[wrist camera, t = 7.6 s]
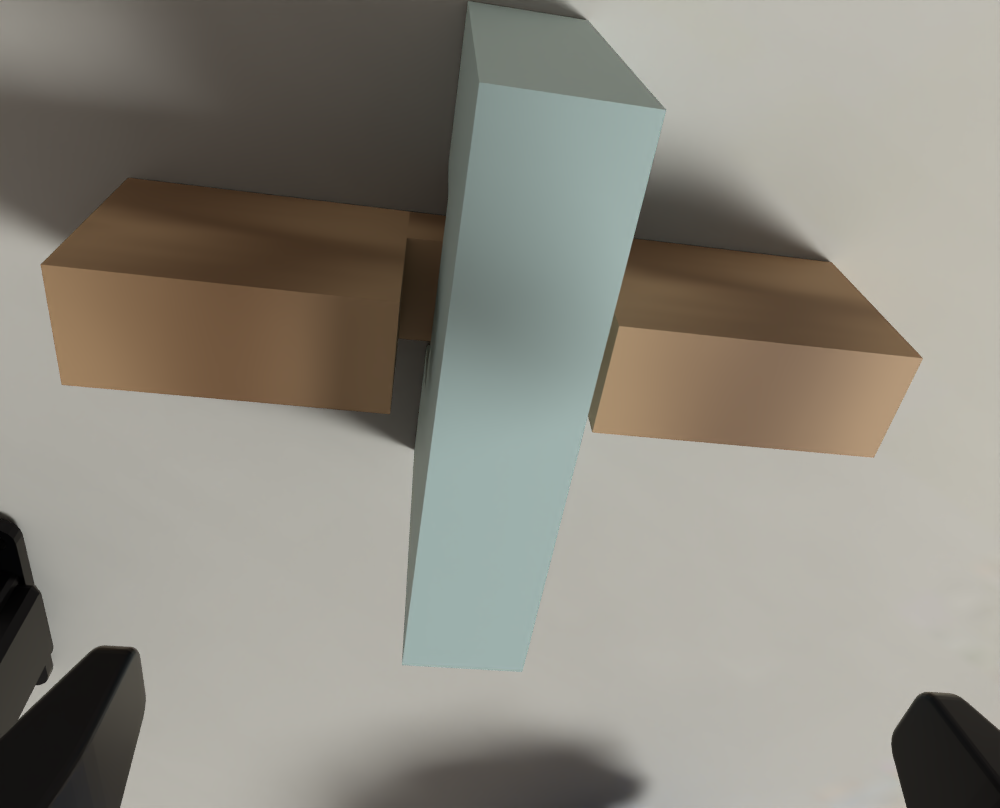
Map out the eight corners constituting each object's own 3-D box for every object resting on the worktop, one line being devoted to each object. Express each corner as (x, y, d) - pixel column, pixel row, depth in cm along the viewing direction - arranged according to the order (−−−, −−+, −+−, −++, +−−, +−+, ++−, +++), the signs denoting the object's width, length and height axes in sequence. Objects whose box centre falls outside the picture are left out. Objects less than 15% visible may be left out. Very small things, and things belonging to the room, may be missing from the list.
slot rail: (139, 279, 19) (61, 384, 15) (128, 178, 17) (40, 264, 14) (797, 349, 21) (874, 457, 17) (831, 262, 19) (923, 358, 16)
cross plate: (414, 450, 22) (402, 665, 16) (468, 0, 16) (478, 82, 10) (502, 458, 22) (522, 671, 16) (588, 20, 16) (666, 110, 10)
